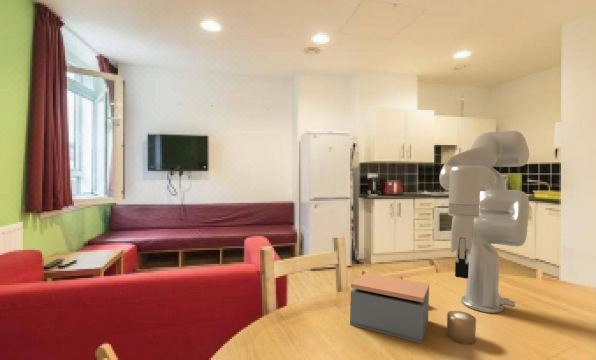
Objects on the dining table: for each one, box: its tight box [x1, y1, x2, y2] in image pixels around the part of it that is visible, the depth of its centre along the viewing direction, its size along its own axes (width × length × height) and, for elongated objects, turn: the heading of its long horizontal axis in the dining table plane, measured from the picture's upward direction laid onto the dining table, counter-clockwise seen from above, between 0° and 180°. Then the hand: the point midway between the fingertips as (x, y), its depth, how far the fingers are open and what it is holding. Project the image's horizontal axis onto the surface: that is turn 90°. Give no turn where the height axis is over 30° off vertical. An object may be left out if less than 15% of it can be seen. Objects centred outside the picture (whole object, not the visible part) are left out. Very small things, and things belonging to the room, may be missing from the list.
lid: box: [350, 272, 430, 302], centre depth 93 cm, size 20×15×1 cm
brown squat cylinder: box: [446, 310, 477, 346], centre depth 86 cm, size 7×7×6 cm
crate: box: [349, 288, 430, 345], centre depth 93 cm, size 20×15×10 cm
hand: (461, 276), depth 85 cm, fingers closed
